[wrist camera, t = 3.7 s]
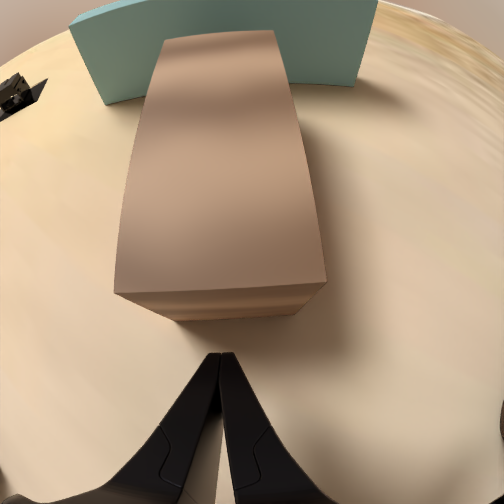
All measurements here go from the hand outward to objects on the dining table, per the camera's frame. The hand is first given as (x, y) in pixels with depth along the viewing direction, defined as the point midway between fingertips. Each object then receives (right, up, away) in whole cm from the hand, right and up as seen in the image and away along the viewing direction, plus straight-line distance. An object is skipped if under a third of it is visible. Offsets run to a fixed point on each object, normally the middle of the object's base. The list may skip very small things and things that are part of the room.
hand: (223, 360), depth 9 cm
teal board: (-2, +23, +15) cm, 27 cm away
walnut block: (-1, +7, +10) cm, 12 cm away
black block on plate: (-31, +24, +17) cm, 43 cm away
